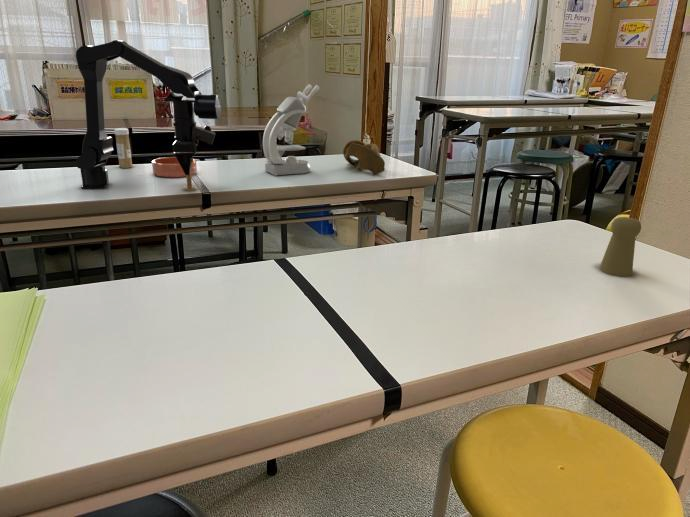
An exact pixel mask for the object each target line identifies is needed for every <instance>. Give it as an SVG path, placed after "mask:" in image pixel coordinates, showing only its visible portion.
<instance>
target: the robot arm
mask: <svg viewBox="0 0 690 517" xmlns="http://www.w3.org/2000/svg"><path fill="white" fill-rule="evenodd" d="M118 58H122V60H125V61H127V62H128V63H130V64H132V65H133V66H136V68H139V69H140V70H142V71H144V72H146V73H148V74H150V75H151V76H153V77H154V78H156V79H158V81H160V83H162V84H163V86H165V88H167V89H168V90H170V91H171V92H169V94H168V95H167V96H166V97H165V98H164V101H165V102H168V103H169V102H171V103H172V114H173V115H172V116H173V122H172V123H173V127H174V142H173V143H172V145H171V146H172V152H173V155H174V157H176V158H177V160H178V162H179V164H180V165H181V167H182V169H183V171H184V173H185V175H189V172H190V167H191V164H192V158H193V156H194V155H196V153H197V147H198V145H199V141H201V142H204V143H206V144H208V145H211V146H212V145H213V143H214V139H215V137H216V132H215V131H212V127H211V126H210V125H207V124H206V125H205V126H204V127H202V126H201V127H200V126H197V122H196V120H195V116H197V118H198V119H200V120H220V119H221V116H222V106H221V104H220V99H219V95H218V94H216V93H214V94H202V93H201V91H200V90H199V88H198V87H197V86H196V85H195V81H194V78H193V76H192V75H191V74H190V73H189V72H186V71H185V70H181V69H178V68H176V67H172V66H170V65H165V64H164V63H163V62H161V61H158V60H157V59H155V58H153V57H152V56H150V55H148V54H146V53H144V52H143V51H140V50H139V49H138V48H135V47H134V46H132V45H130V44H128V43H127V42H126V41H125V40H120V39H114V40H112V41H108V42H105V43H102V44H97V45H81V46H79V47H78V48H77V49H76V51H75V60H76V64H77V68H78V70H79V72H80V74H81V77H82V79H83V87H84V88H83V89H84V103H85V104H84V105H85V120H86V121H85V122H86V132H85V134H84V137H83V141H82V147H81V154H80V155H79V156H78V157H77V158H76V159H75V161H74V164H75V165H76V168H77V169H79V170H80V175H81V176H80V177H81V183H82V186H81V189H106V187H107V186H108V185H109V184H110V179H109V172H108V170H107V169H106V164H107V162H108V159H109V158H110V157H111V156H112V152H113V151H114V147H113V140H114V139H113V137H112V136H108V134H107V133H106V129H105V110H104V109H105V108H104V89H103V80H104V78H105V74H106V72H107V68H108V62H111V61H114V60H117V59H118Z"/></svg>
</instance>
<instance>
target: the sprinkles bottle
mask: <svg viewBox="0 0 690 517" xmlns="http://www.w3.org/2000/svg"><path fill="white" fill-rule="evenodd" d="M129 134H130V132H129V128H125V127H119V128H114V136H115V143H116V152H117V159H118V167H119V168H121V169H129V168H132V167H133V165H134V164H133V160H132V151H131V144H130V137H129Z"/></svg>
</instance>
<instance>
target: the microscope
mask: <svg viewBox="0 0 690 517" xmlns="http://www.w3.org/2000/svg"><path fill="white" fill-rule="evenodd" d="M320 89H321V87H320V86H319V85H318V84H315V86H314V87H313V85H311V84H310V83H309V84H307V85H306V86H305V88H304V89H303V90H302V92H301V91H300V90H299V91H298V92H297V93H296V97H294V96H287V97H286V98H285V99H284V100H283V101H282V102H281V104H280V105H279V106H278V107H277V108H276V111H277V112H275V114H273V116H272V117H271V118H270V120H269V121H268V123H267V124H266V127H265V128H264V132H263V134H262V135H263V136H262V150H263V155H264V158H265V159H266V161H265V162H264V170H265V172H266V173H269V174H271V175H273V176H274V177H277V176H283V175H296V174H302V175H305V174H307V173H309V172H311V165H310V164H309V161H308V160H305V159H298V158H297V157H296V156H295V155H288V156H286V158H285V159H282V157H283V155H284V153H285V152H286V151H287V152H293V151H301V150H306V147H305V146H302V145H300V144H293V143H294V132H296V130H297V128H298V126H299V123H300V121H301V118H302V116H303V113H306V112H307V107H306V105H305V103H304V101H305V102H306V103H308V102H310V99H312V97H313V96H314V95H315V94H317V92H319V90H320ZM309 92H310V93H309ZM308 93H309V94H308ZM306 94H308V95H306ZM283 138H284V142H285V143H288V145H287V144H285V145H281V144H277V141H278V140H279V141H280V140H282V139H283ZM277 139H278V140H277Z"/></svg>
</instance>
